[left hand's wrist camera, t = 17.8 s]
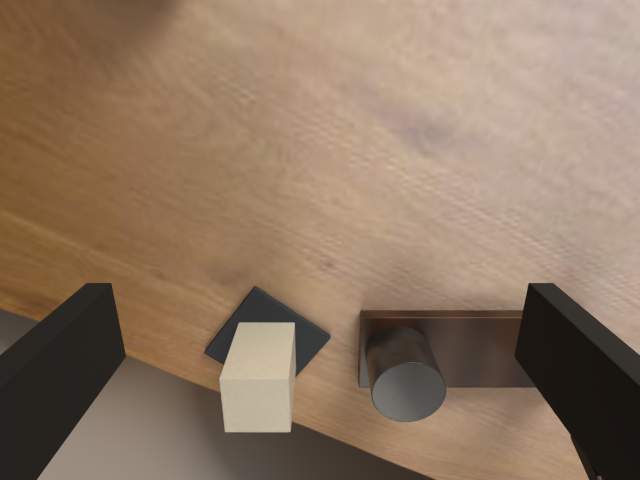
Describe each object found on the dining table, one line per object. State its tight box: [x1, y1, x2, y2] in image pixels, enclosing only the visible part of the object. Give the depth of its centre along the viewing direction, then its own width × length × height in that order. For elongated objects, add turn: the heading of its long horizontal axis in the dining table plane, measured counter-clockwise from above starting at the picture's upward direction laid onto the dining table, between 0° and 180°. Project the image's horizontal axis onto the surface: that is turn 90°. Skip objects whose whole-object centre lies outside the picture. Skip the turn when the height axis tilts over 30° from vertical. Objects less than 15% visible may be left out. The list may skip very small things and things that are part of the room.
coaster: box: [204, 287, 330, 377], centre depth 44 cm, size 10×10×1 cm
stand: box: [358, 311, 536, 422], centre depth 41 cm, size 24×9×8 cm, turn 90°
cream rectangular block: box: [219, 323, 296, 432], centre depth 40 cm, size 6×6×9 cm
